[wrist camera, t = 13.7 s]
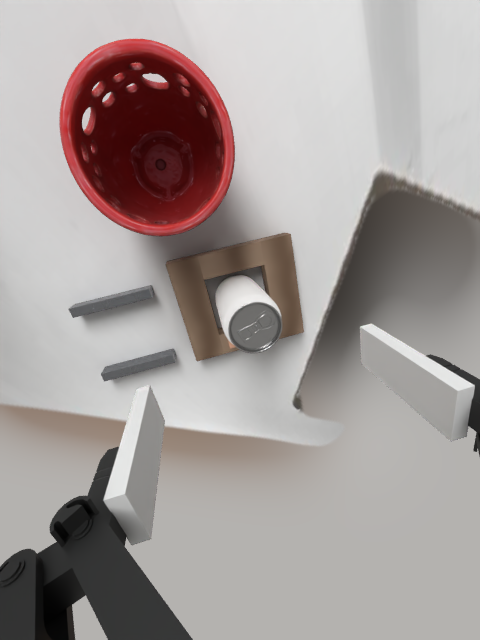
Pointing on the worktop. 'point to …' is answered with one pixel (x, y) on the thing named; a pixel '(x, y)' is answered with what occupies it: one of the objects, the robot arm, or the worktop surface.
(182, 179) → the plant pot
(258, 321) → the can
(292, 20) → the worktop surface
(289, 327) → the plate
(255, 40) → the worktop surface
